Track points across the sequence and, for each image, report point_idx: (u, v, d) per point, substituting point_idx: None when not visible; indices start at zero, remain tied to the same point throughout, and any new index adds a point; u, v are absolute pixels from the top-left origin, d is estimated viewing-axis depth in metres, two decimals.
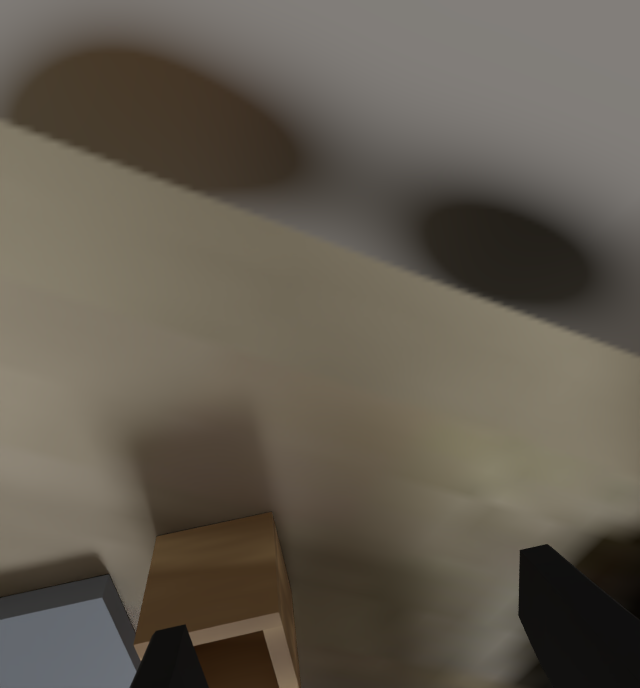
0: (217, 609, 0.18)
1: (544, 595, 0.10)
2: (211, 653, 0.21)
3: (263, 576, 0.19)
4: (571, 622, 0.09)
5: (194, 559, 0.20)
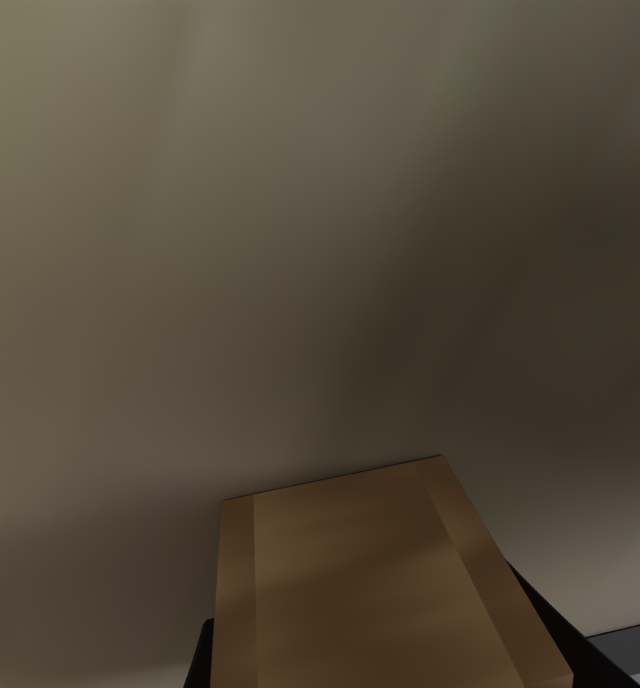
0: None
1: None
2: None
3: None
4: None
5: None
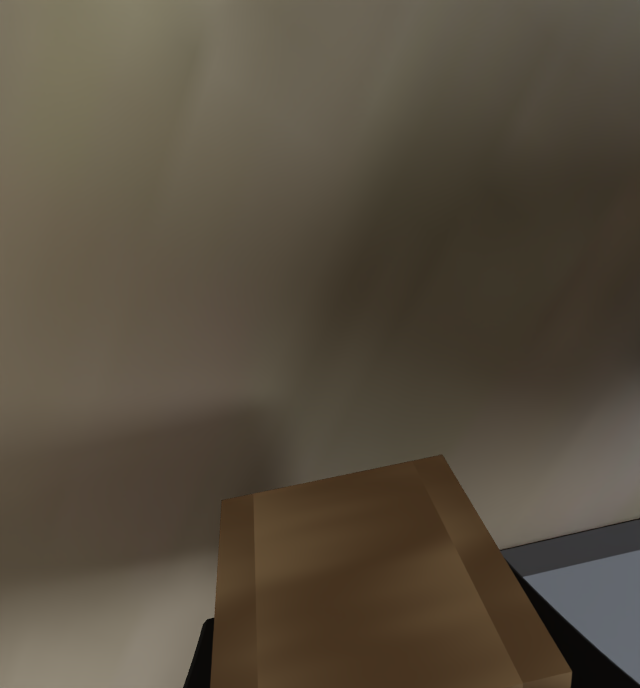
0: None
1: None
2: None
3: None
4: None
5: None
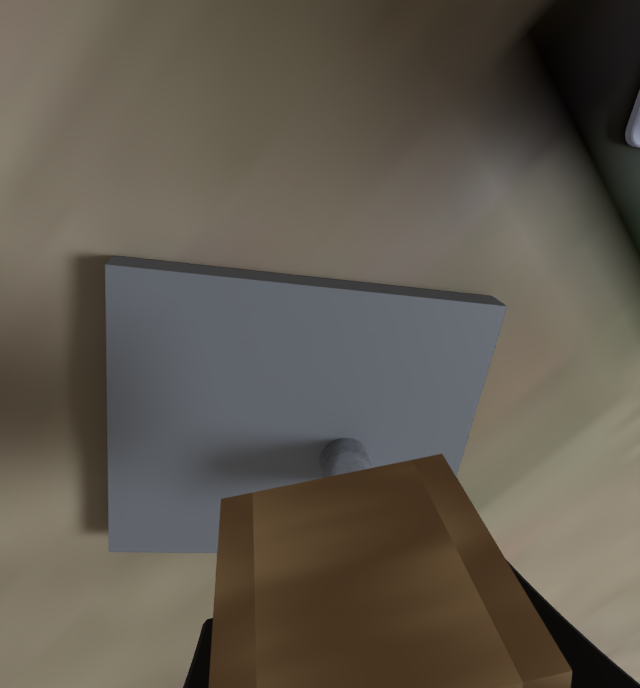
0: None
1: None
2: None
3: None
4: None
5: None
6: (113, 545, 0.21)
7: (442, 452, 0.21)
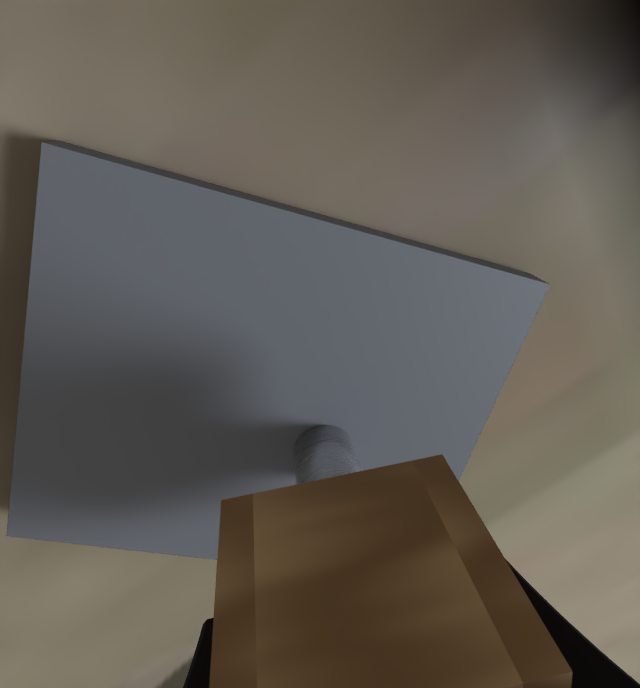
0: None
1: None
2: None
3: None
4: None
5: None
6: (13, 528, 0.16)
7: None
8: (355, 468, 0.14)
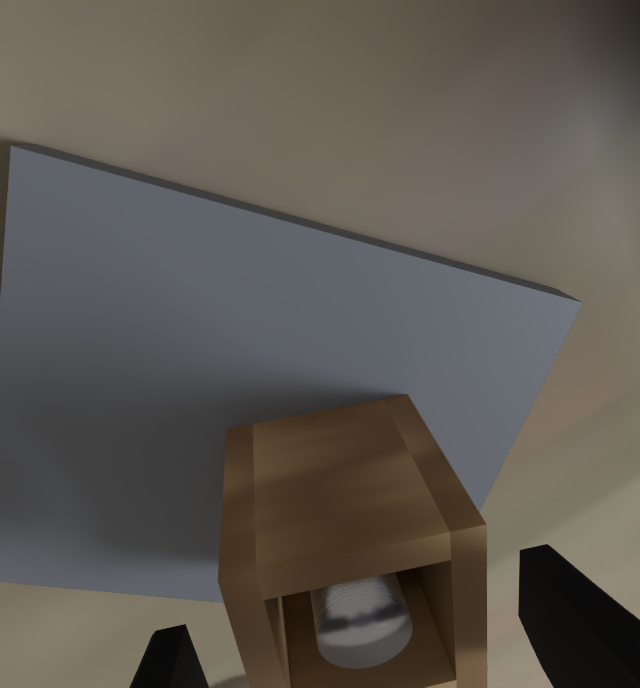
0: None
1: (544, 595, 0.10)
2: (421, 570, 0.13)
3: None
4: (571, 622, 0.09)
5: None
6: None
7: None
8: None
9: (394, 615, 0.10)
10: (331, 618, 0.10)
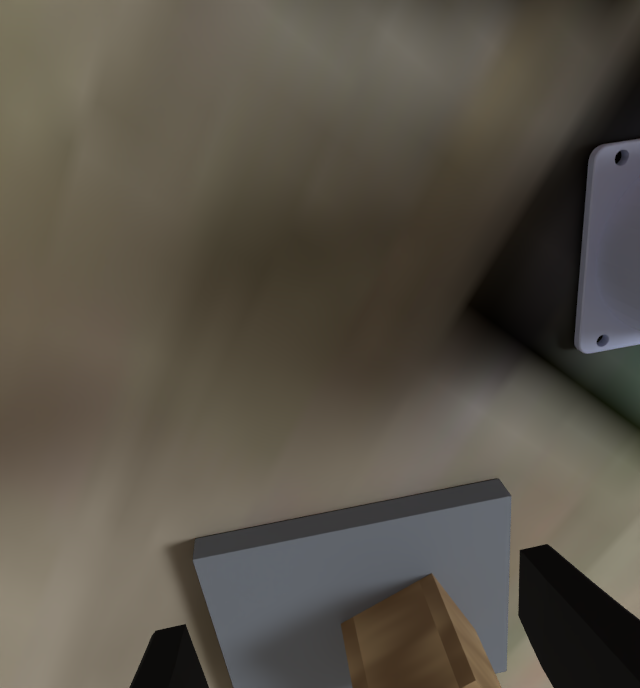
0: None
1: (544, 595, 0.10)
2: None
3: None
4: (571, 622, 0.09)
5: None
6: None
7: (490, 602, 0.25)
8: None
9: None
10: None
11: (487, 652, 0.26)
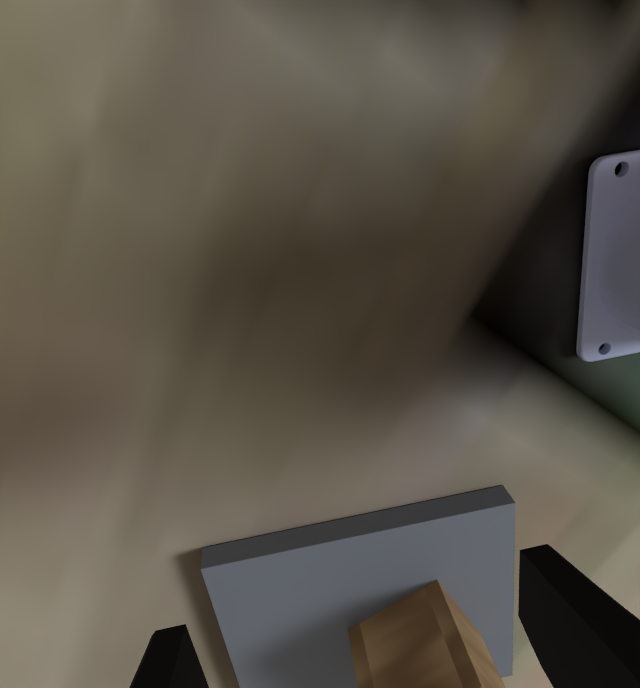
0: None
1: (544, 595, 0.10)
2: None
3: None
4: (571, 622, 0.09)
5: None
6: None
7: (495, 607, 0.25)
8: None
9: None
10: None
11: (493, 656, 0.27)
